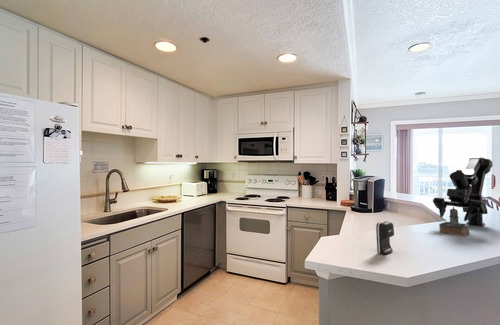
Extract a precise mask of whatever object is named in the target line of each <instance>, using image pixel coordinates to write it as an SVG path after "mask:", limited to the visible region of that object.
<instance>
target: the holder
mask: <svg viewBox="0 0 500 325" xmlns="http://www.w3.org/2000/svg"><path fill="white" fill-rule="evenodd" d="M448 223H450V221H443V222H440V223H439V233H440V234H447V235H448V234H449V235H453V236H460V237H466V236H467V235H468V234H470V224H466V223H460V222H459V224H460V225H462V227H458V226H450V225H446V224H448Z"/></svg>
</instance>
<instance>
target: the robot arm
mask: <svg viewBox="0 0 500 325" xmlns="http://www.w3.org/2000/svg"><path fill="white" fill-rule="evenodd" d="M492 168H493V161H492V160H491V159H489V158H484V157H482V156H472V157H469V160H468V163H467V165H466V166H465V169H464V170H462V169H456V170H455V171H453V172H451V173H450V174H449V178H450V181H451V183H452V184H453V186H454V187H455V188H447V191H446V196H448V200H445V198H443V197H434V198H433V199H432V203H433V204H434V206H435V207H436V208H437V209H438V210H439V217H440V218H441V219H442V218H443V217H444V215H445V213H446V210H447V207H449V206H450V207H456V208H462V213H465V215H464V217H463V221H464V222H466V223H465V224H469V226H470V225H471V226H478V227H479V226H481V227H484V226H485V225H486V223H485V222H484V220H483V215H488V208H487V206H486V204H485V201H484V200H483V197H482V193H483V188H484V182H485V180H486V179H485V178H486V175H487V174H488V173H489V172H491V169H492Z"/></svg>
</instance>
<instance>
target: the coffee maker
mask: <svg viewBox="0 0 500 325" xmlns="http://www.w3.org/2000/svg"><path fill="white" fill-rule="evenodd" d="M375 226H376V227H375V231H376V233H375V234H376V252H377V253H378V254H380V255H381V254H382V255H388V254H390V253H392V252H393V251H394V250H393V248H392V246H391V241H390V239H391V238H392V237H394V236H395V230H394V224H393V222H390V221H386V220H381V221H379V222H377V223H376V225H375Z"/></svg>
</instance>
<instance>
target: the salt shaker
mask: <svg viewBox="0 0 500 325" xmlns="http://www.w3.org/2000/svg"><path fill="white" fill-rule="evenodd" d="M458 215H459V212H458V209H455V206H452V208H451V209H449V216H448V217H449V222H450V223H448V224H446V225H450V226H458V227H462V225H460V224H459V223H460V222H459V218H460V216H458Z"/></svg>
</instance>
